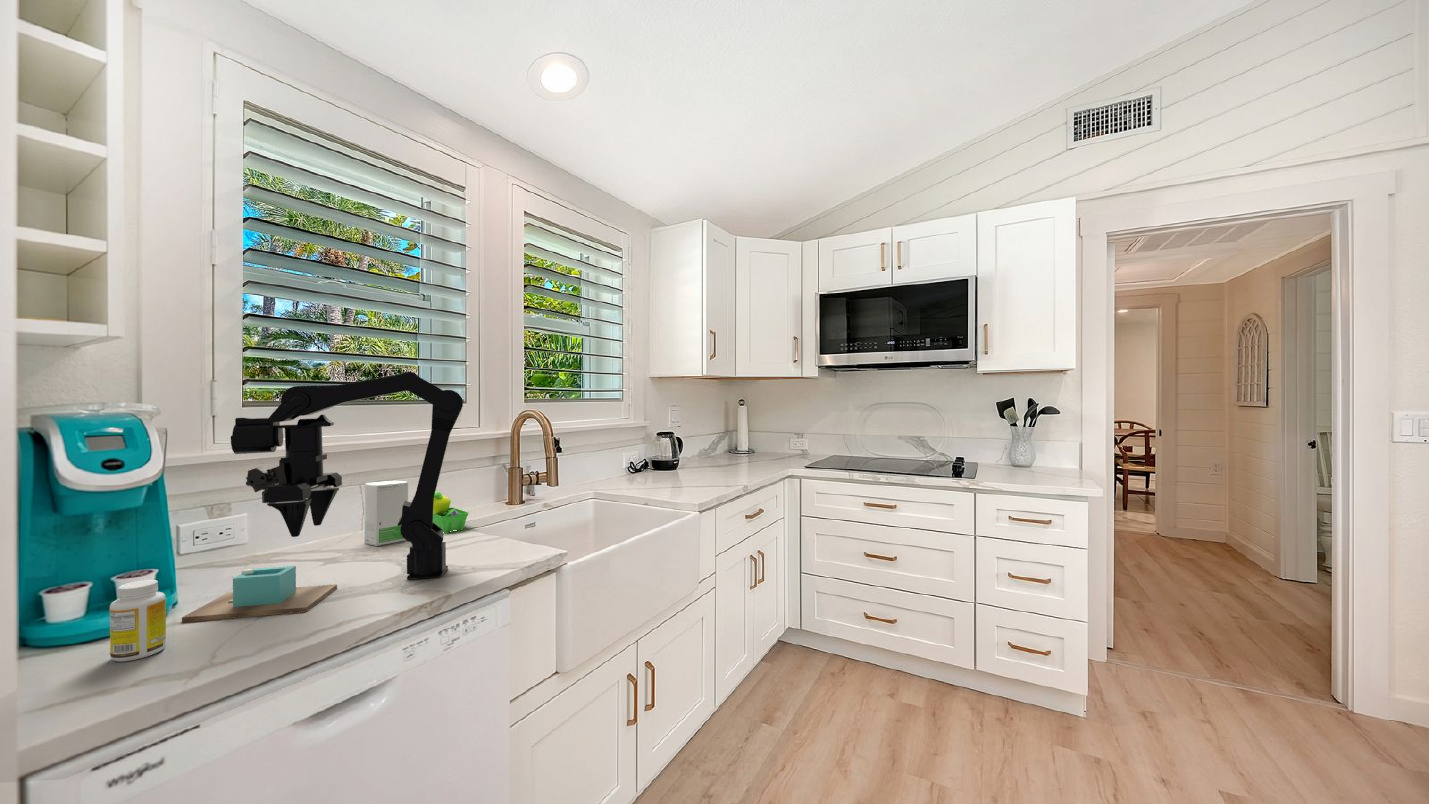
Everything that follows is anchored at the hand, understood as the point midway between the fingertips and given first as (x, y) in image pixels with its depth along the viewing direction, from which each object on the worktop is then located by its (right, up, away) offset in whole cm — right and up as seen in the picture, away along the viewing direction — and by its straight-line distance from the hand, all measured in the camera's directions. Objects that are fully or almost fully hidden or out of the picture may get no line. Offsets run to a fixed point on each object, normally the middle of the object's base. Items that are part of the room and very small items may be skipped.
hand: (306, 530), depth 104 cm
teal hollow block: (-2, -11, -7) cm, 13 cm away
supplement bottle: (-5, -12, -26) cm, 29 cm away
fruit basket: (+2, -12, +49) cm, 50 cm away
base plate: (-2, -12, -7) cm, 14 cm away
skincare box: (-7, -12, +36) cm, 39 cm away
